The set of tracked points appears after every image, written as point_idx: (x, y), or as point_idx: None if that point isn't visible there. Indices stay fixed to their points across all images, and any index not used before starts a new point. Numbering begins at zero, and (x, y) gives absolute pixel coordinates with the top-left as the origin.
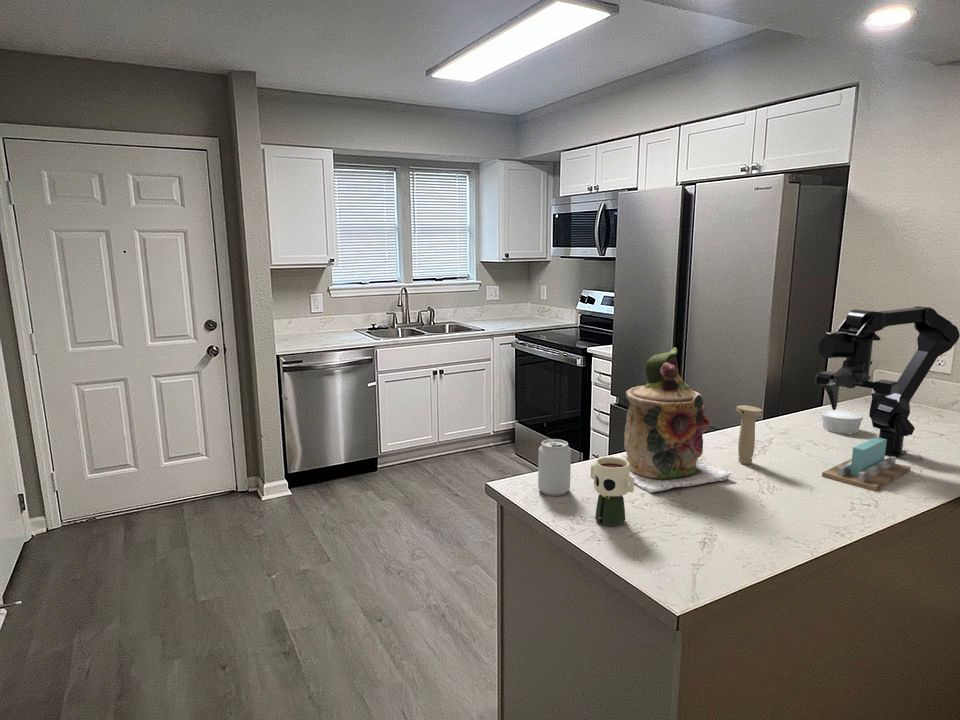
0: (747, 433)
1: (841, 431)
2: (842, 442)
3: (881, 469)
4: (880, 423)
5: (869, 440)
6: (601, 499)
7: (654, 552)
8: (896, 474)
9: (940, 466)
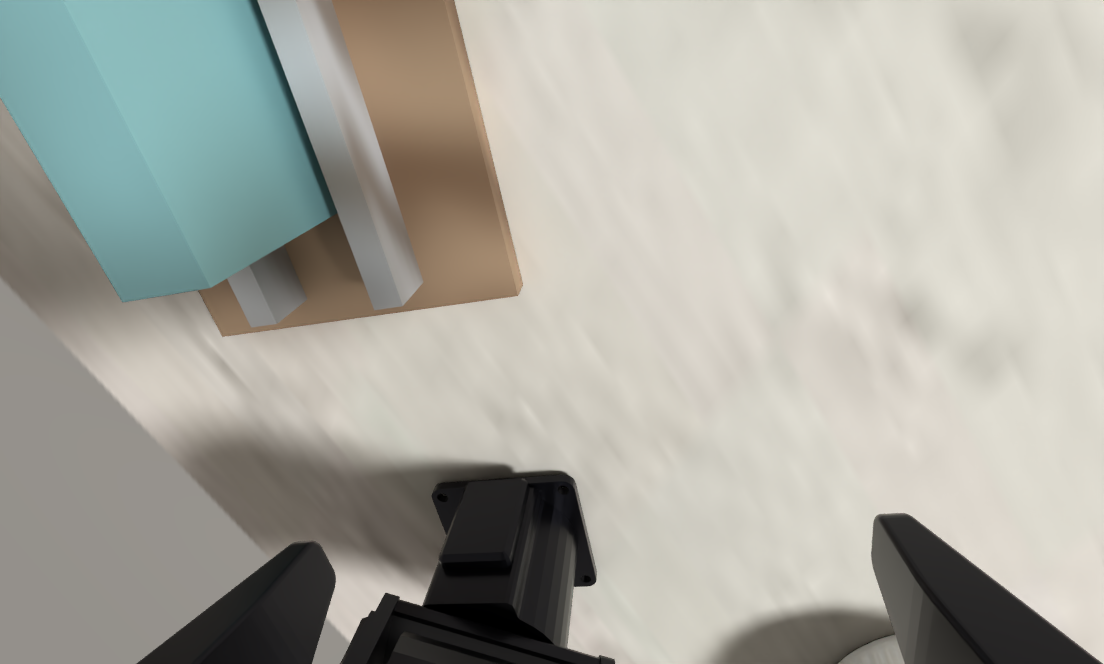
0: None
1: (887, 648)
2: (789, 500)
3: None
4: (495, 662)
5: (88, 61)
6: None
7: None
8: None
9: (267, 510)
